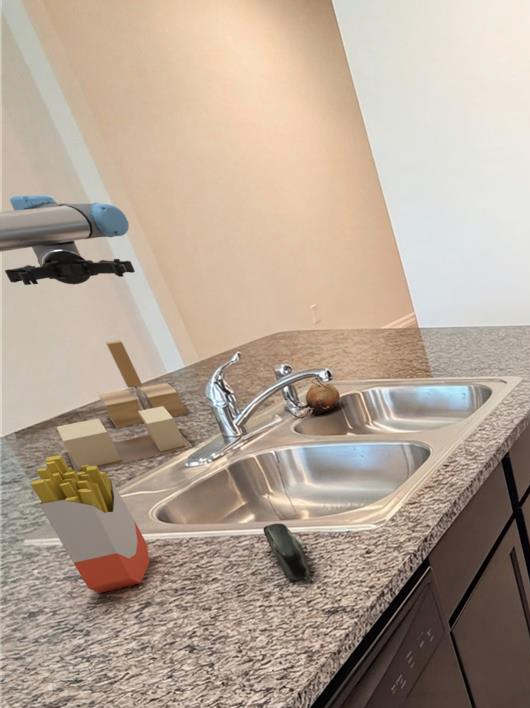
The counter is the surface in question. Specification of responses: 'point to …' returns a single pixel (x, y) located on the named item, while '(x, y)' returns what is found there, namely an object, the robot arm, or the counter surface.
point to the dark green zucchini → (288, 552)
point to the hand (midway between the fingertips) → (77, 273)
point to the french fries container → (92, 525)
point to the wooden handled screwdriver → (126, 368)
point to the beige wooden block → (162, 428)
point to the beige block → (88, 443)
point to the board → (135, 450)
